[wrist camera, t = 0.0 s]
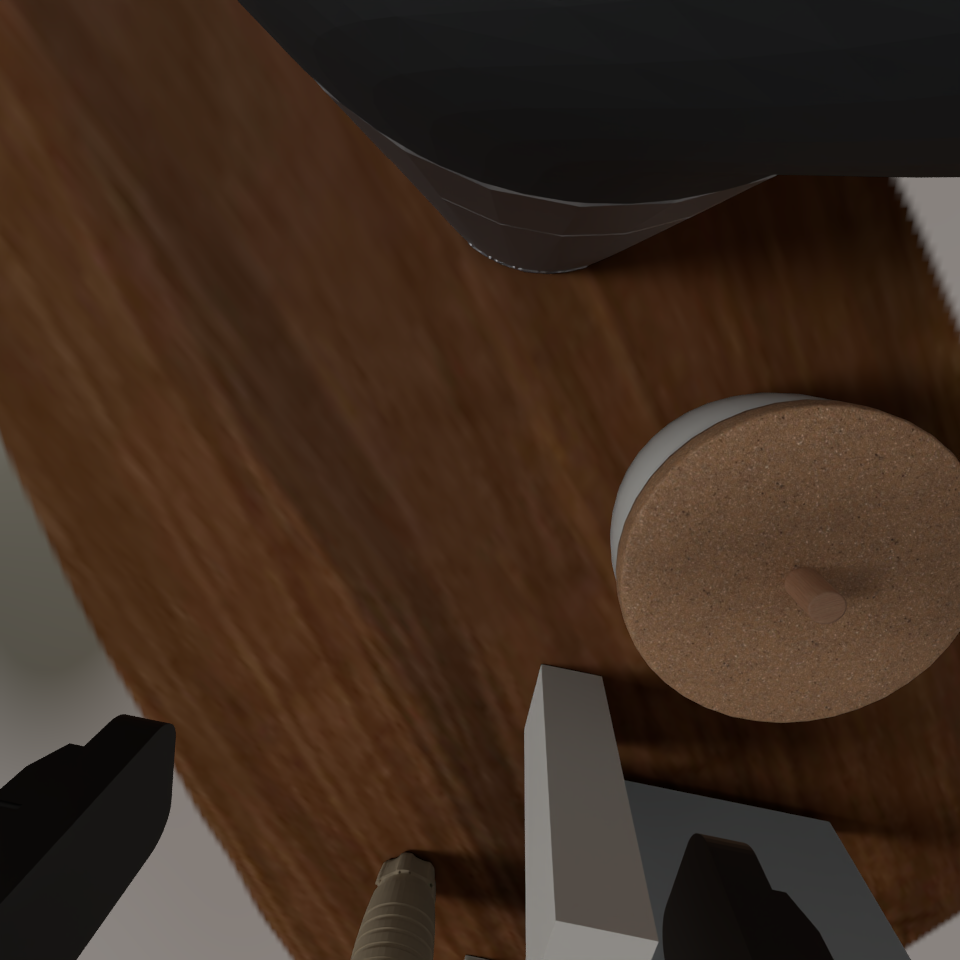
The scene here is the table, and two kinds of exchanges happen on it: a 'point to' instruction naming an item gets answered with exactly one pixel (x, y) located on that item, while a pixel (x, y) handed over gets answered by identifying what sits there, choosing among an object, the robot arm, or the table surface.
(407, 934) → the tan tapered grip
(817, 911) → the door
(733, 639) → the lidded jar
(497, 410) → the table surface
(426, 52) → the robot arm
